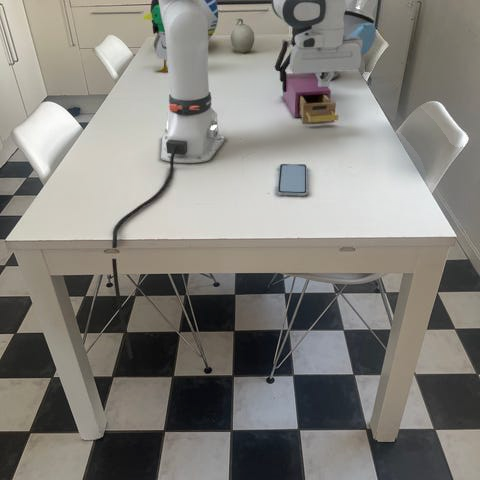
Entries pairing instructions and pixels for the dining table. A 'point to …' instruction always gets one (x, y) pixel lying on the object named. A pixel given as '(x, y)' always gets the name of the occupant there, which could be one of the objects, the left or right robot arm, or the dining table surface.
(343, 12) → the left robot arm
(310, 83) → the purple drawer cabinet
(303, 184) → the smartphone
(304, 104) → the drawer
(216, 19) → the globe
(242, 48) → the fruit
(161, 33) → the toy
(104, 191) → the dining table surface
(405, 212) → the dining table surface
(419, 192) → the dining table surface
